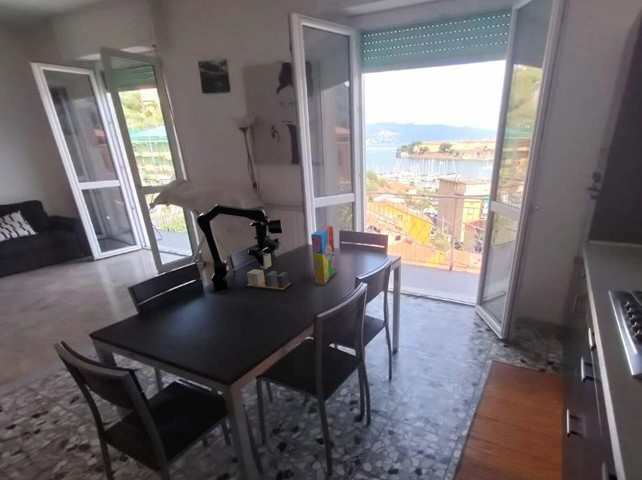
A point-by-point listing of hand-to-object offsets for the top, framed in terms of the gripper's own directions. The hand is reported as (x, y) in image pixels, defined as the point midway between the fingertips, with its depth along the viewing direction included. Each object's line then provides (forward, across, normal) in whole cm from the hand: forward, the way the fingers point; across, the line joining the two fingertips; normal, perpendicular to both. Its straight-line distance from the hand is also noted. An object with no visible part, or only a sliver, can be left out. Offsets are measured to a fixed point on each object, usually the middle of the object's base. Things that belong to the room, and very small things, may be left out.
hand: (265, 264), depth 184 cm
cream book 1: (+11, 0, +9) cm, 14 cm away
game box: (+12, +18, -25) cm, 33 cm away
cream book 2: (+11, 0, +6) cm, 13 cm away
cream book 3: (+2, 0, 0) cm, 2 cm away
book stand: (+12, 0, 0) cm, 12 cm away
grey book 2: (+11, 0, -9) cm, 14 cm away
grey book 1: (+11, 0, -2) cm, 12 cm away
